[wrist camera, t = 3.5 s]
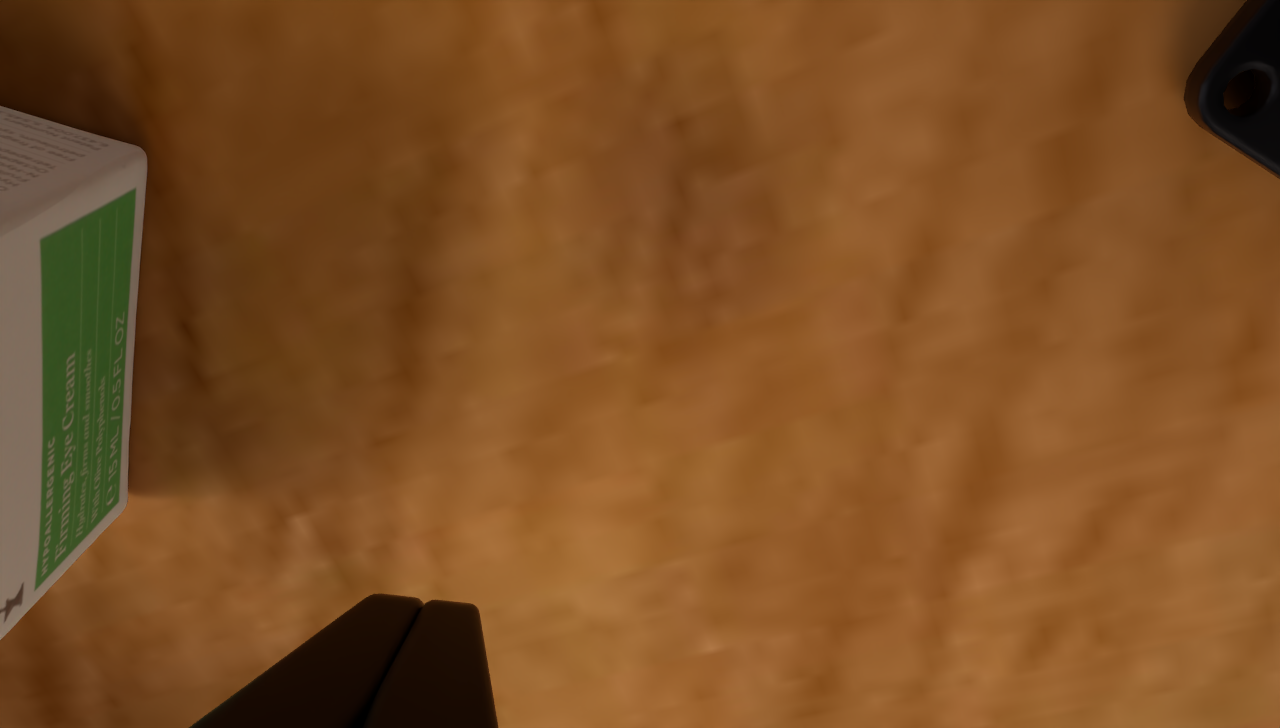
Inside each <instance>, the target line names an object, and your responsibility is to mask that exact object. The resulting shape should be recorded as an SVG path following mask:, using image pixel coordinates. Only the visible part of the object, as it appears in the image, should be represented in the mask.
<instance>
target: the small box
mask: <svg viewBox="0 0 1280 728" xmlns="http://www.w3.org/2000/svg"><path fill="white" fill-rule="evenodd" d="M146 181H147V156H146V153H145V152H144V151H143V150H142V148H140V147H139V146H136V145H133V144H128V143H125V142H121V141H118V140H114V139H111V138H107V137H103V136H100V135H96V134H92V133H89V132H85V131H82V130H79V129H75V128H72V127H69V126H66V125H62V124H59V123H56V122H52V121H49V120H46V119H42V118H39V117H36V116H32V115H29V114H26V113H22V112H19V111H16V110H12V109H9V108H6V107H2V106H0V640H1V639H2V638H3V637H4V636H5V635H6V634H7V633H8V632H9V631H10V630H11V629H12V628H13V627H14V626H15V625H16V623H17V622H18V621H19V620H20V619H21V618H22V617H23V616H24V615H25V614H26V613H27V612H28V611H29V609H30V608H31V607H32V606H33V605H34V604H35V603H36V602H37V601H38V600H39V599H40V598H41V597H42V596H43V595H44V594H45V593H46V592H47V591H48V590H49V588H50V587H51V586H52V585H53V584H54V583H55V582H56V581H57V580H58V579H59V578H60V577H61V576H62V575H63V574H64V572H65V571H66V570H67V569H68V568H69V567H70V566H71V565H72V564H73V563H74V562H75V561H76V560H77V559H78V558H79V557H80V556H81V555H82V554H83V552H84V551H85V550H86V549H87V548H88V547H89V546H90V545H91V544H92V543H93V542H94V541H95V540H96V539H97V538H98V536H99V535H100V534H101V533H102V532H103V531H104V530H105V529H106V528H107V527H108V526H109V525H110V524H111V523H112V522H113V521H114V520H115V519H116V518H117V517H118V516H119V515H120V514H121V513H122V512H123V510H124V509H125V507H126V505H127V502H128V465H129V435H130V422H131V404H132V379H133V361H134V345H135V328H136V311H137V298H138V285H139V272H140V257H141V244H142V232H143V218H144V207H145V194H146Z"/></svg>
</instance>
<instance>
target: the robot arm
mask: <svg viewBox="0 0 1280 728" xmlns="http://www.w3.org/2000/svg"><path fill="white" fill-rule="evenodd" d="M1246 70H1251V71H1252V73H1253V74H1254V76H1255V88H1254V90H1253V92H1252V94H1251V95H1250V97H1249V99H1248V100H1247V101H1246V102H1244V103H1243V104H1242V105H1240V106H1239V107H1238V108H1234V109H1230V110H1227V109H1226V107H1225V106H1224V96H1223V93H1224V91H1225V89H1226V87H1227V85H1228V83H1229V81H1230V80H1231V79H1233V78H1234V77H1235V76H1236V75H1238V74H1239V73H1240V72H1242V71H1246ZM1184 101H1185V104H1186V108H1187V112H1188V114H1189V116H1190V117H1191V118H1192V119H1193V120H1194V121H1195V122H1196V123H1197V124H1198V125H1199V126H1200V127H1202V128H1203V129H1205V130H1206V131H1208V132H1209V133H1211V134H1212V135H1214V136H1215V137H1217V138H1218V139H1220V140H1221V141H1223V142H1224V143H1226V144H1227V145H1229V146H1230V147H1232V148H1233V149H1235V150H1237V151H1238V152H1240V153H1241V154H1243V155H1244V156H1246V157H1247V158H1249V159H1250V160H1252V161H1253V162H1255V163H1256V164H1258V165H1259V166H1261V167H1262V168H1264V169H1265V170H1267V171H1268V172H1270V173H1271V174H1273V175H1274V176H1276V177H1277V178H1279V179H1280V0H1247V1H1246V2H1245V3H1244V5H1243V6H1242V7H1241V8H1240V10H1239V11H1238V12H1237V13H1236V15H1235V16H1234V17H1233V18H1232V20H1231V21H1230V22H1229V23H1228V25H1227V26H1226V27H1225V28H1224V30H1223V31H1222V32H1221V33H1220V35H1219V36H1218V37H1217V38H1216V40H1215V41H1214V42H1213V43H1212V45H1211V46H1210V47H1209V48H1208V50H1207V51H1206V52H1205V53H1204V55H1203V56H1202V57H1201V58H1200V60H1199V61H1198V62H1197V63H1196V65H1195V67H1194V68H1193V70H1192V72H1191V74H1190V76H1189V77H1188V79H1187V81H1186V88H1185V94H1184ZM189 728H498V723H497V717H496V711H495V705H494V699H493V693H492V687H491V680H490V674H489V668H488V662H487V656H486V650H485V644H484V638H483V632H482V626H481V620H480V614H479V610H478V608H477V607H476V606H475V605H473V604H470V603H461V602H451V601H442V600H431V601H429V602H427V603H425V605H424V603H423V602H422V601H421V600H420V599H418V598H415V597H406V596H397V595H388V594H373V595H370V596H368V597H366V598H365V599H363V600H362V601H360V602H359V603H358V604H356V605H355V606H354V607H352V608H351V609H350V610H348V611H347V612H346V613H344V614H343V615H341V616H340V617H339V618H337V619H336V620H335V621H333V622H332V623H331V624H329V625H328V626H326V627H325V628H324V629H322V630H321V631H320V632H318V633H317V634H316V635H314V636H313V637H312V638H310V639H309V640H307V641H306V642H305V643H303V644H302V645H301V646H299V647H298V648H297V649H295V650H294V651H292V652H291V653H290V654H288V655H287V656H286V657H284V658H283V659H282V660H280V661H279V662H278V663H276V664H275V665H273V666H272V667H271V668H269V669H268V670H267V671H265V672H264V673H263V674H261V675H260V676H258V677H257V678H256V679H254V680H253V681H252V682H250V683H249V684H248V685H246V686H245V687H244V688H242V689H241V690H239V691H238V692H237V693H235V694H234V695H233V696H231V697H230V698H229V699H227V700H226V701H224V702H223V703H222V704H220V705H219V706H218V707H216V708H215V709H214V710H212V711H211V712H210V713H208V714H207V715H205V716H204V717H203V718H201V719H200V720H199V721H197V722H196V723H195V724H193V725H192V726H191V727H189Z"/></svg>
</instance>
